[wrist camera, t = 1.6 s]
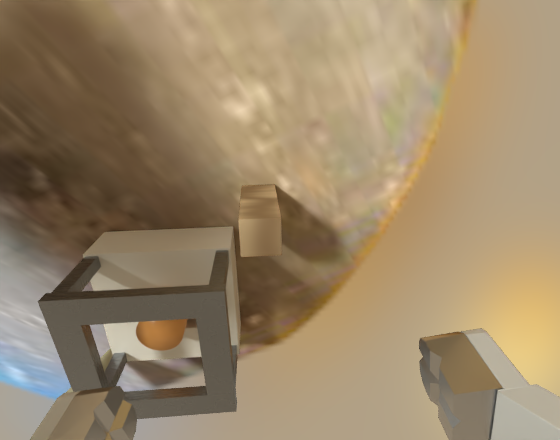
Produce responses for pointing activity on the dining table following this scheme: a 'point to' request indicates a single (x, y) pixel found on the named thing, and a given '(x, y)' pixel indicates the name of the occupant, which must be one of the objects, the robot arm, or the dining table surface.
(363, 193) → the dining table surface
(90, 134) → the dining table surface
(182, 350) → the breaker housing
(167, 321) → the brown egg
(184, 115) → the dining table surface
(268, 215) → the wooden toy block
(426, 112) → the dining table surface
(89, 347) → the guard frame
